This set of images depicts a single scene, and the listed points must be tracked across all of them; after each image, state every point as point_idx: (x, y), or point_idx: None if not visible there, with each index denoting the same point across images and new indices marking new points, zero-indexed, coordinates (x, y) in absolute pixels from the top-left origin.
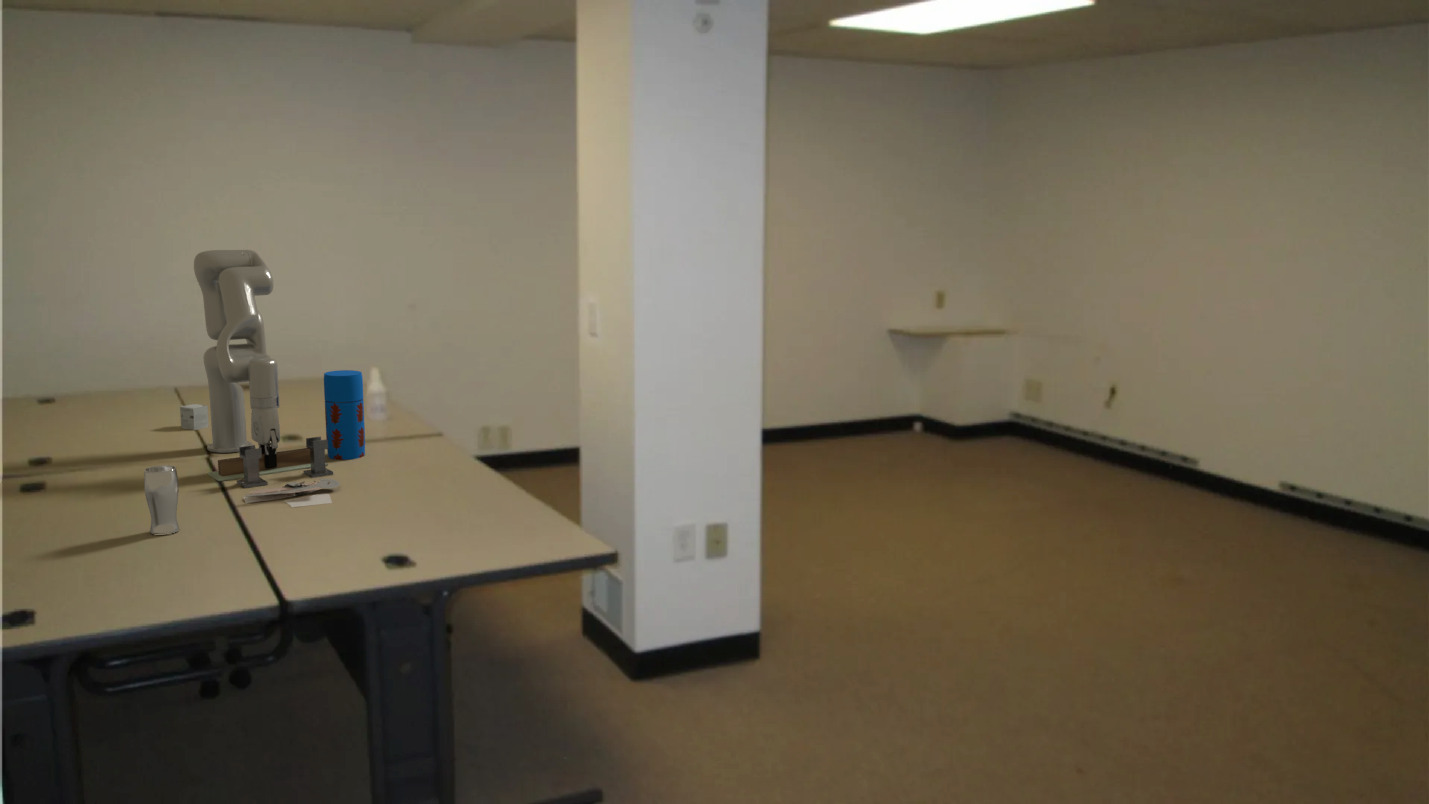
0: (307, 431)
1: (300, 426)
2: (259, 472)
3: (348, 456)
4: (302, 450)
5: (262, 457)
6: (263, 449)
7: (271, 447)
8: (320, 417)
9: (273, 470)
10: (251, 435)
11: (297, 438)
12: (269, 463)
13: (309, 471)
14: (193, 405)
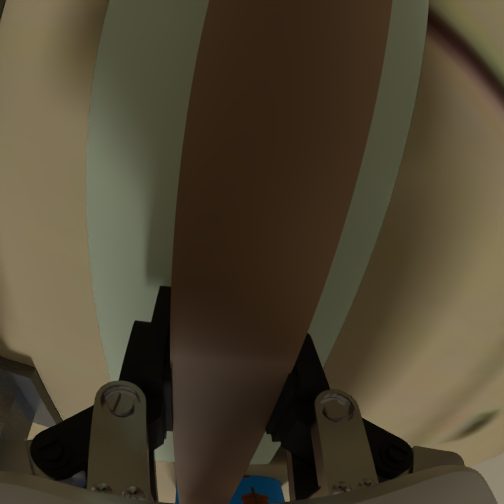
0: (470, 442)
1: (493, 431)
2: (133, 212)
3: (177, 492)
4: (188, 491)
5: (173, 344)
6: (300, 429)
7: (22, 458)
8: (485, 446)
9: (134, 309)
10: (488, 493)
11: (465, 433)
12: (131, 330)
13: (11, 381)
14: None
